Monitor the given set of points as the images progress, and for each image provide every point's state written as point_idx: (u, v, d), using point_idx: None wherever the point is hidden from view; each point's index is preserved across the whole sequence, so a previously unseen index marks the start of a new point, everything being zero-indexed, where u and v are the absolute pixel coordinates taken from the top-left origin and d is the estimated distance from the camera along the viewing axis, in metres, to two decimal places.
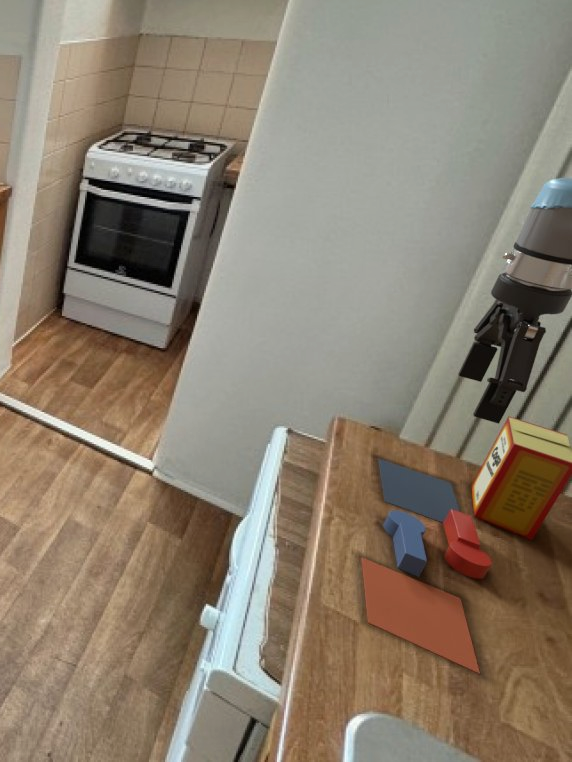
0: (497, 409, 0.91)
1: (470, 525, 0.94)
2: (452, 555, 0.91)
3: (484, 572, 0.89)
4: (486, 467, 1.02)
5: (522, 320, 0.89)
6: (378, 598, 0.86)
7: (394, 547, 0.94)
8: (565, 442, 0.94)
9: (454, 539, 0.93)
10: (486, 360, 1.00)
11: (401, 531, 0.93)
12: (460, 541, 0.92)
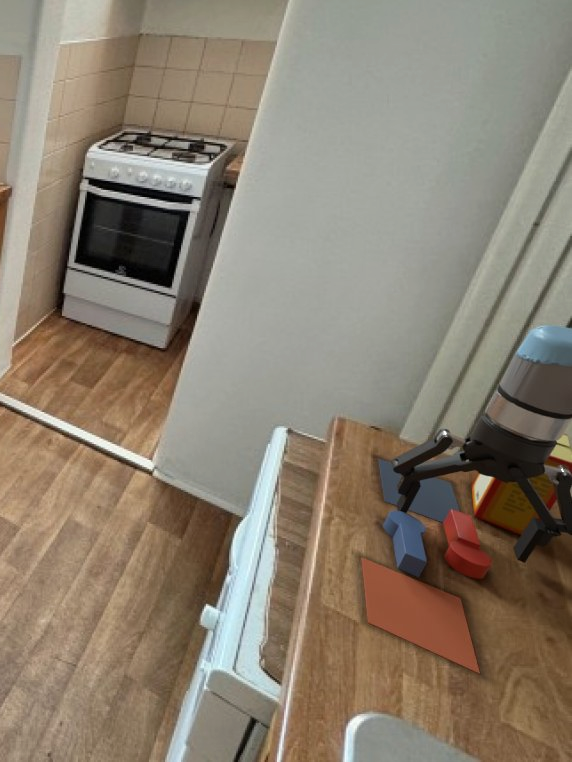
0: (403, 500, 0.98)
1: (470, 525, 0.94)
2: (452, 555, 0.91)
3: (484, 572, 0.89)
4: None
5: (465, 439, 0.92)
6: (378, 598, 0.86)
7: (394, 547, 0.94)
8: (565, 442, 0.94)
9: (454, 539, 0.93)
10: (529, 537, 0.89)
11: (401, 531, 0.93)
12: (460, 541, 0.92)
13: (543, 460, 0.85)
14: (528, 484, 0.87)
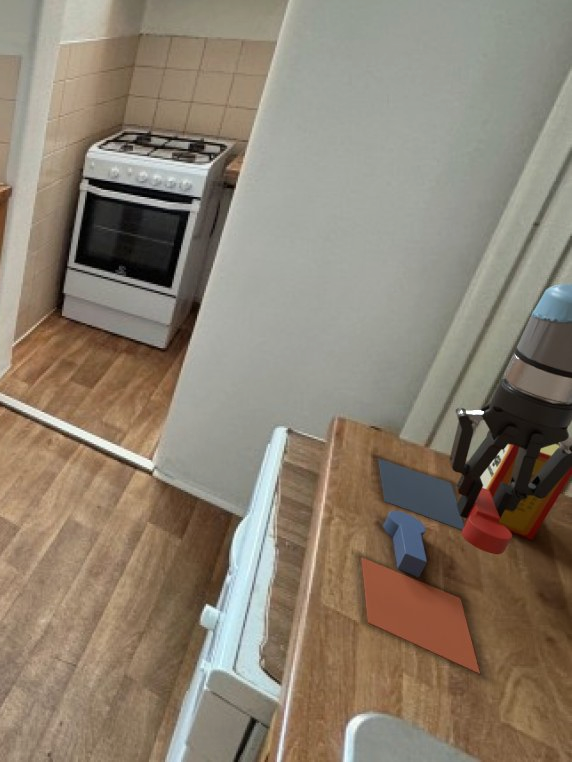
0: (464, 501, 0.93)
1: (488, 499, 0.92)
2: (471, 529, 0.88)
3: (504, 545, 0.86)
4: None
5: (481, 410, 0.89)
6: (378, 598, 0.86)
7: (394, 547, 0.94)
8: None
9: (472, 513, 0.91)
10: (497, 502, 0.90)
11: (401, 531, 0.93)
12: (479, 515, 0.90)
13: (566, 424, 0.82)
14: (538, 451, 0.85)
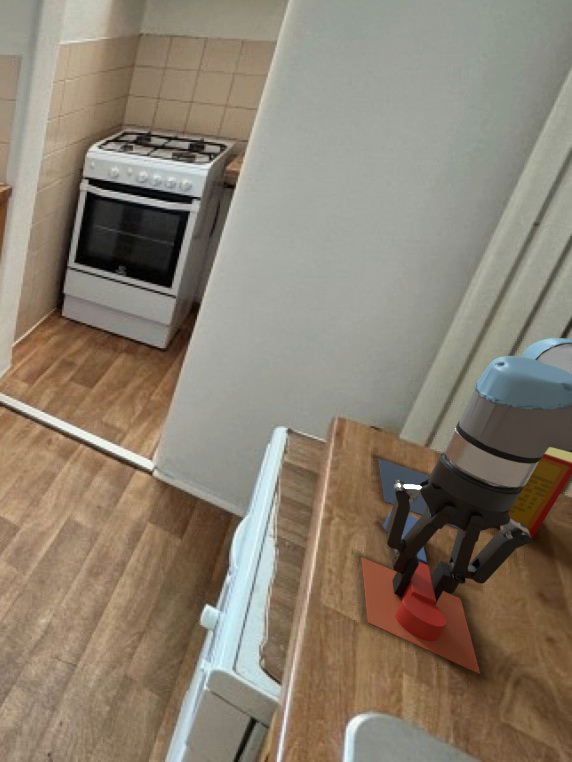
0: (399, 578, 0.86)
1: (426, 577, 0.85)
2: (404, 612, 0.82)
3: (439, 633, 0.80)
4: None
5: None
6: (378, 598, 0.86)
7: None
8: None
9: (408, 593, 0.84)
10: (435, 583, 0.83)
11: None
12: (414, 596, 0.83)
13: (507, 508, 0.75)
14: (477, 534, 0.78)
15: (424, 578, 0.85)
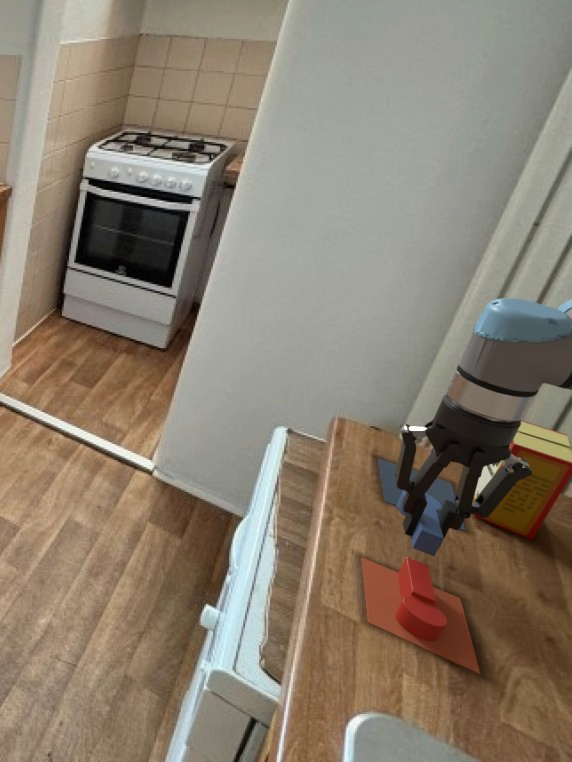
0: (409, 519, 0.90)
1: (426, 577, 0.85)
2: (404, 612, 0.82)
3: (439, 633, 0.80)
4: (486, 467, 1.02)
5: None
6: (378, 598, 0.86)
7: None
8: (565, 442, 0.94)
9: (408, 593, 0.84)
10: (442, 521, 0.88)
11: None
12: (414, 596, 0.83)
13: (507, 442, 0.80)
14: (480, 470, 0.83)
15: (424, 578, 0.85)
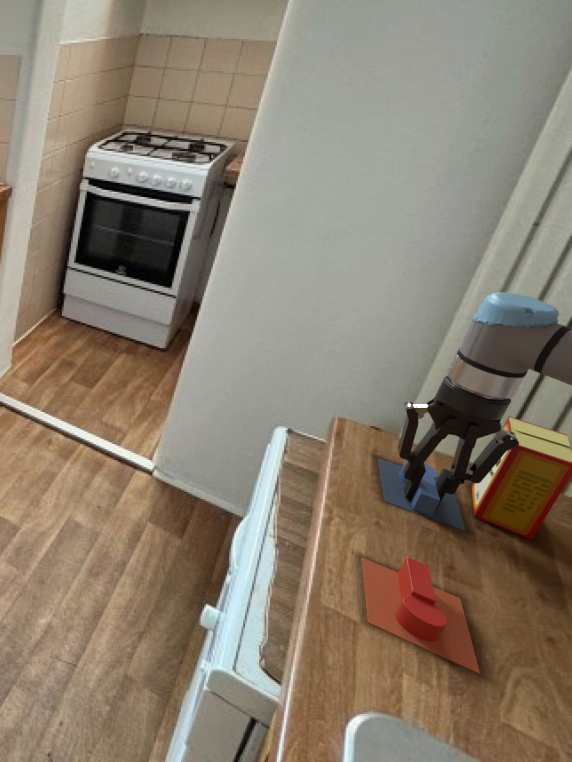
0: (409, 485, 1.03)
1: (426, 577, 0.85)
2: (404, 612, 0.82)
3: (439, 633, 0.80)
4: None
5: (426, 404, 0.99)
6: (378, 598, 0.86)
7: None
8: (565, 442, 0.94)
9: (408, 593, 0.84)
10: (439, 487, 1.00)
11: None
12: (414, 596, 0.83)
13: (499, 417, 0.92)
14: (474, 441, 0.95)
15: (424, 578, 0.85)
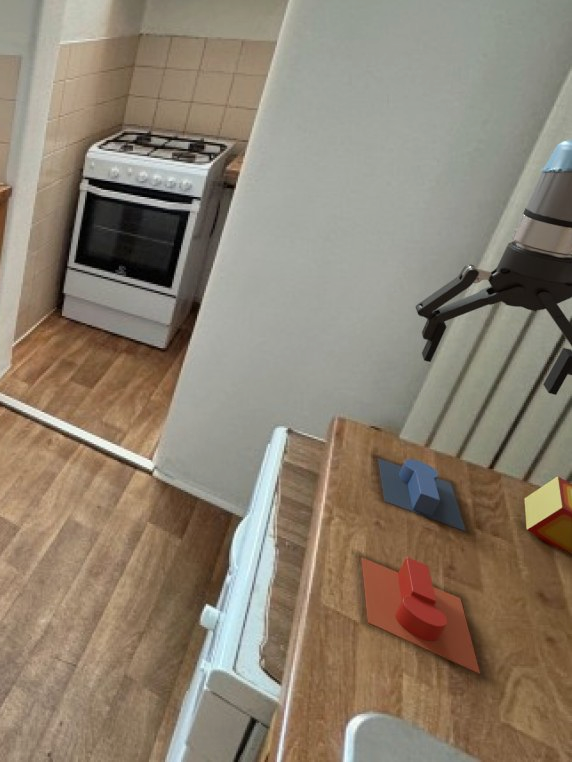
0: (428, 346, 0.96)
1: (426, 577, 0.85)
2: (404, 612, 0.82)
3: (439, 633, 0.80)
4: None
5: (491, 272, 0.90)
6: (378, 598, 0.86)
7: (410, 491, 1.04)
8: None
9: (408, 593, 0.84)
10: (560, 368, 0.87)
11: (416, 476, 1.03)
12: (414, 596, 0.83)
13: None
14: (558, 308, 0.85)
15: (424, 578, 0.85)
